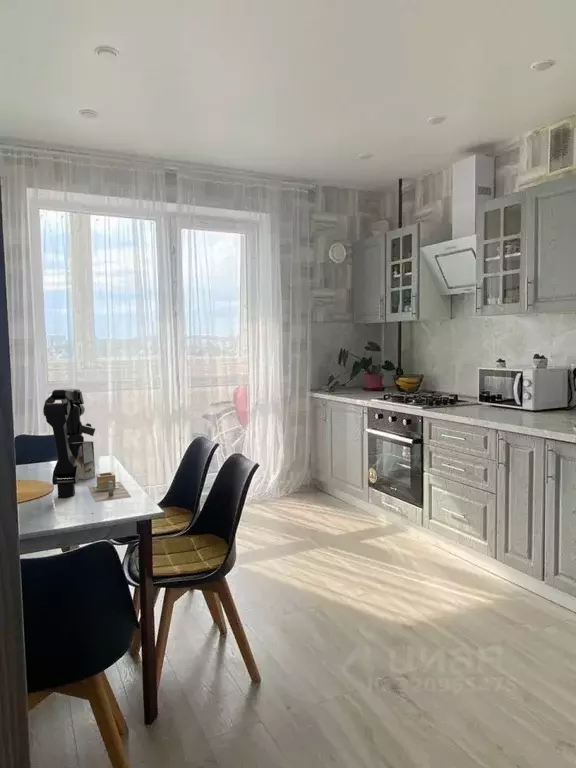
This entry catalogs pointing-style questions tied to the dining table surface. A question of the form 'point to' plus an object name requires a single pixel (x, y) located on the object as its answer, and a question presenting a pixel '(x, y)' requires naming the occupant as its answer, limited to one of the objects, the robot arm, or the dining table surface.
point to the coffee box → (86, 460)
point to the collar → (105, 480)
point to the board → (105, 493)
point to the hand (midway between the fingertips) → (74, 457)
